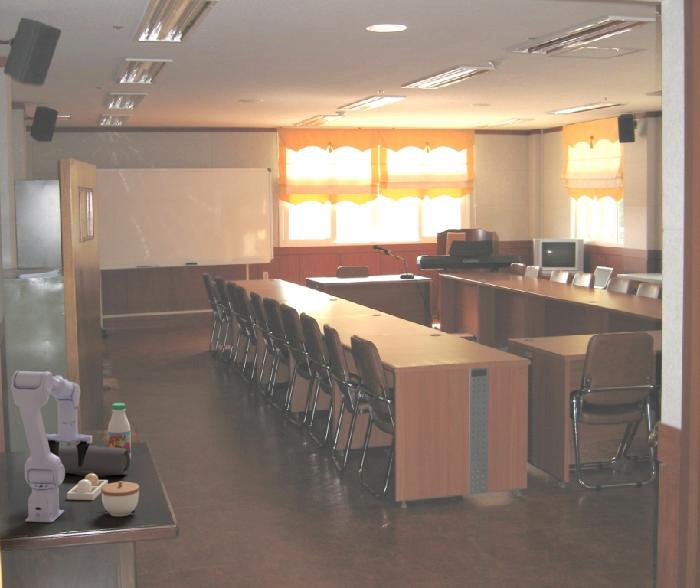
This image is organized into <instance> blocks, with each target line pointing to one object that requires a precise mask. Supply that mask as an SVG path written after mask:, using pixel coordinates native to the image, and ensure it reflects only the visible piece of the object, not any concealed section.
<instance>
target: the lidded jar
mask: <svg viewBox="0 0 700 588" xmlns="http://www.w3.org/2000/svg"><path fill="white" fill-rule="evenodd" d="M139 496H140V485H139V484H138V483H135V482H130V481H122V480H119V481H115V482H110V483H109V482H108V484H106V485H104V486H103V487H102V488H101V500H102V504H103V505H102V506H103V507H104V509H105V510H106V511H107V512H108V513H109V515H110V516H112V517H126V516H129V515H132V512H133V511H134V510H135V509H136V507H137V505H138V503H139Z"/></svg>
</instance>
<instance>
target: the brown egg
mask: <svg viewBox="0 0 700 588" xmlns="http://www.w3.org/2000/svg"><path fill="white" fill-rule="evenodd" d="M84 479H87V480H89V481H90V482H91V485H92V486H98V480H99V476H97V475H96V474H93V473H90V474H88V475H86V476H84Z"/></svg>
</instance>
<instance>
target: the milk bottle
mask: <svg viewBox="0 0 700 588" xmlns="http://www.w3.org/2000/svg"><path fill="white" fill-rule="evenodd" d="M126 410H127V409H126V403H123V402H115V403H112V404H111V413H112V414H111V417H110V420H109V422H108V426H107V447H114V448H123V449H128V451H129V455H130V460H131V459H132V451H131V450H132V449H131V448H132V447H131V441H132V440H131V425H130V423H129V420H128V417H127V415H126Z"/></svg>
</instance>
